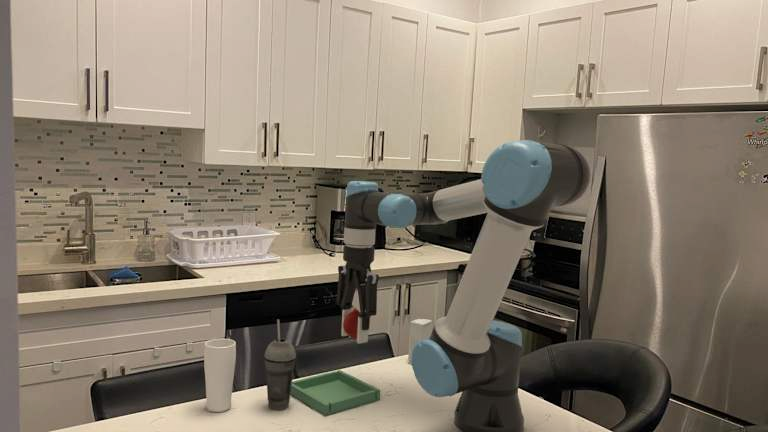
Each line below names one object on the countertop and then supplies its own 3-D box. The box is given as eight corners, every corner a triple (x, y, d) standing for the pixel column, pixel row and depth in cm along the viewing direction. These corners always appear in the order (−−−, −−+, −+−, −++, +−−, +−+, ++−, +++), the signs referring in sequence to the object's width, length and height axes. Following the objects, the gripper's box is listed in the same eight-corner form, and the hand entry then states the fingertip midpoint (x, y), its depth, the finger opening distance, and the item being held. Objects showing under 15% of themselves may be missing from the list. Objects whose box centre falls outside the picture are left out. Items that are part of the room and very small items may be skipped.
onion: (368, 337, 150) (369, 306, 149) (363, 344, 144) (365, 311, 144) (345, 334, 151) (346, 303, 150) (340, 341, 145) (341, 309, 144)
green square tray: (379, 399, 144) (380, 389, 144) (325, 416, 133) (325, 405, 133) (339, 379, 156) (339, 370, 156) (286, 392, 145) (286, 382, 145)
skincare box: (420, 367, 168) (423, 324, 167) (406, 363, 171) (409, 321, 170) (431, 361, 173) (433, 320, 172) (417, 358, 176) (419, 317, 175)
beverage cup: (275, 416, 132) (278, 327, 130) (255, 405, 137) (258, 319, 135) (301, 407, 137) (304, 321, 135) (281, 397, 142) (284, 314, 140)
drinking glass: (217, 417, 130) (219, 349, 129) (196, 408, 134) (197, 343, 132) (240, 407, 136) (242, 342, 134) (219, 399, 139) (221, 336, 138)
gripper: (396, 250, 140) (390, 347, 143) (349, 239, 155) (344, 326, 157) (370, 252, 136) (365, 352, 138) (324, 240, 150) (320, 330, 153)
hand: (354, 338), depth 148 cm, fingers closed on onion, 6 cm apart
